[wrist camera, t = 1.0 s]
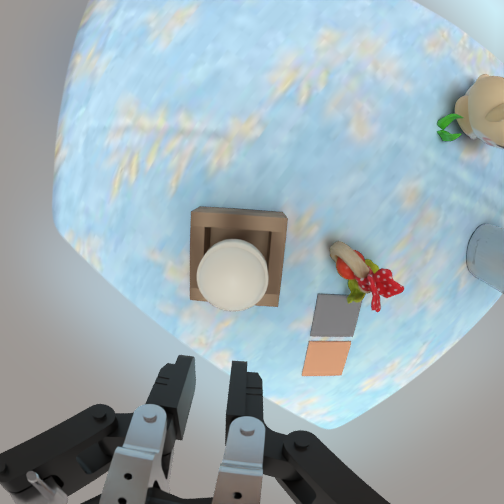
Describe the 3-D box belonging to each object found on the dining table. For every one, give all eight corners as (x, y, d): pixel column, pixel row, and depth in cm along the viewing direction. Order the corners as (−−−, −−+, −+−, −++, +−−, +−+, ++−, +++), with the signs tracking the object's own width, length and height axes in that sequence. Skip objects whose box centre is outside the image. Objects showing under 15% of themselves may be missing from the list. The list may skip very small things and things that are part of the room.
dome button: (269, 235, 29) (273, 255, 22) (263, 293, 30) (265, 327, 23) (206, 230, 29) (190, 249, 22) (204, 288, 30) (191, 321, 23)
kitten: (451, 168, 31) (526, 175, 17) (419, 106, 29) (491, 84, 15) (496, 130, 29) (560, 129, 14) (470, 76, 27) (531, 58, 12)
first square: (362, 295, 36) (363, 296, 36) (352, 335, 38) (352, 336, 38) (317, 293, 36) (318, 294, 36) (310, 335, 38) (310, 336, 38)
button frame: (282, 212, 33) (287, 218, 29) (275, 289, 36) (277, 306, 31) (200, 206, 33) (191, 211, 29) (198, 283, 36) (190, 299, 31)
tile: (350, 341, 38) (351, 342, 38) (340, 374, 40) (341, 375, 40) (309, 340, 38) (309, 342, 38) (301, 374, 40) (301, 375, 40)
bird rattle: (314, 264, 37) (357, 313, 35) (305, 266, 27) (365, 334, 25) (347, 233, 36) (391, 282, 34) (352, 221, 26) (412, 290, 24)
